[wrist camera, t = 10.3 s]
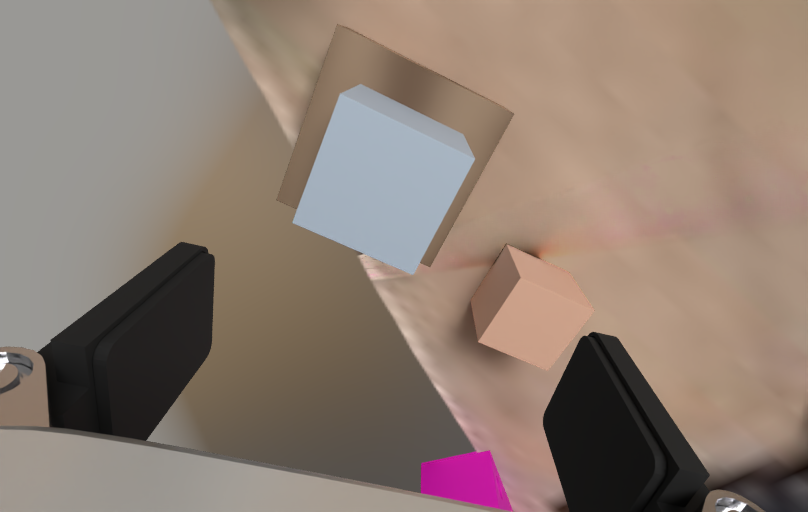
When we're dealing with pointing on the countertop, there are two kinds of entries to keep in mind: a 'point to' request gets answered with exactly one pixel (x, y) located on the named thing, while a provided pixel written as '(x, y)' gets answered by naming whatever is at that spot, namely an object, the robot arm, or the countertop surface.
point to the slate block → (383, 178)
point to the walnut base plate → (410, 86)
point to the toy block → (465, 480)
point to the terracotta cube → (528, 308)
